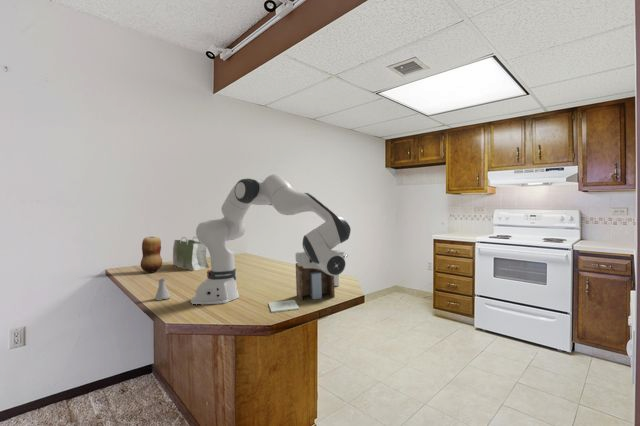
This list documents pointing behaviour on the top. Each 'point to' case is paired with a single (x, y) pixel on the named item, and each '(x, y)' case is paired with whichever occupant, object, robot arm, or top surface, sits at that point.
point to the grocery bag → (189, 254)
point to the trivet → (283, 306)
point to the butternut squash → (151, 254)
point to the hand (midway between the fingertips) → (315, 253)
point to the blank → (315, 285)
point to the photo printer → (336, 280)
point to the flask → (162, 290)
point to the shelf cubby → (304, 281)
